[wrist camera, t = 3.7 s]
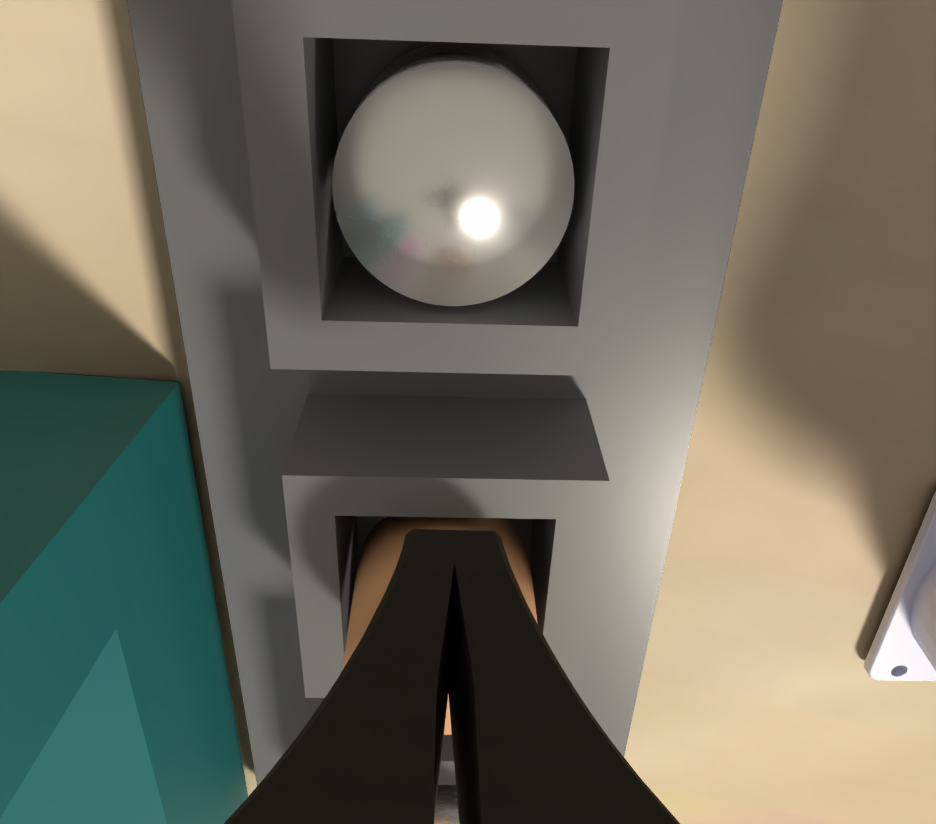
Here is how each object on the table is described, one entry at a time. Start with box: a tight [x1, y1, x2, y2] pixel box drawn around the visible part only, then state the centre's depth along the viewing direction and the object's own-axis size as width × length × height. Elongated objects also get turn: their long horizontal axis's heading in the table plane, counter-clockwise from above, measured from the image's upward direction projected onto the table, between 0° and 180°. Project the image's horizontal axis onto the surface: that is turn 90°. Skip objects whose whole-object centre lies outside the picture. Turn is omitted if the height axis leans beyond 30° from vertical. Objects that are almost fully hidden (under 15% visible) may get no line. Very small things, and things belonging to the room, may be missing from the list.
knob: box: [332, 42, 575, 306], centre depth 14 cm, size 4×4×3 cm
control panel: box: [127, 0, 783, 786], centre depth 20 cm, size 12×30×5 cm, turn 178°
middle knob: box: [343, 517, 538, 735], centre depth 17 cm, size 4×4×3 cm
